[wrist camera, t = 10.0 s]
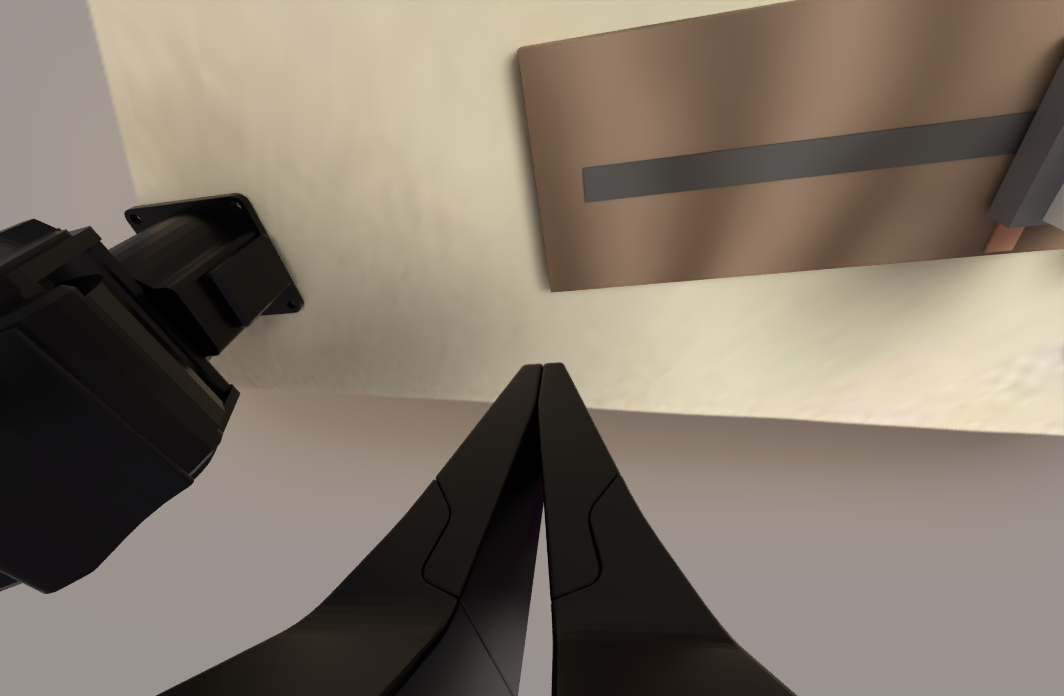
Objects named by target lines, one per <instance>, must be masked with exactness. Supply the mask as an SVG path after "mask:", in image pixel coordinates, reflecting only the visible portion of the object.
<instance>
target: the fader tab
mask: <svg viewBox="0 0 1064 696" xmlns="http://www.w3.org/2000/svg"><path fill="white" fill-rule="evenodd" d="M986 216H987V217H989V218H991V219H993V220H995V221H996V222H998V223H1000V224H1002V225H1004V226H1006V227H1007V228H1016V227H1027V226H1037V225H1048V224H1051V225H1053V226H1055V227H1057V228H1059V229H1061V230H1063V231H1064V58H1063V60H1062V62H1061V64H1060V66H1059V68H1058V70H1057V72H1056V74H1055V76H1054V78H1053V80H1052V82H1051V84H1050V86H1049V88H1048V90H1047V92H1046V94H1045V96H1044V99H1043V101H1042V103H1041V105H1040V107H1039V109H1038V111H1037V113H1036V115H1035V117H1034V119H1033V121H1032V123H1031V125H1030V127H1029V129H1028V131H1027V133H1026V135H1025V137H1024V139H1023V141H1022V143H1021V145H1020V147H1019V149H1018V151H1017V153H1016V156H1015V158H1014V160H1013V162H1012V164H1011V166H1010V168H1009V170H1008V172H1007V174H1006V176H1005V178H1004V180H1003V182H1002V184H1001V186H1000V188H999V190H998V192H997V194H996V196H995V198H994V200H993V202H992V204H991V206H990V208H989V210H988V213H987V215H986Z"/></svg>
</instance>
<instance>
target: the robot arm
mask: <svg viewBox="0 0 1064 696" xmlns="http://www.w3.org/2000/svg"><path fill="white" fill-rule="evenodd" d="M235 202H237V203H239V205H240V206H241V208H239V207H238V206H237V205H236V203H235ZM124 214H125V218H126V220H127V221H128V223H129V224H130V225H131V227H132V228H133V230H134V231H135V232H136V233H137V234H136V235H135V236H133V237H131V238H129V239H127V240H125V241H124V242H122V243H120V244H118V245H116V246H115V247H113V248H111V249H109V250H108V249H107V248H106V247H105V246H104V245H103V244H102V243H101V242H100V240H101V238H100V236H99V235H98V234H97V233H96V232H95V231H94V230H93V229H92V227H91V226H88V227H84V228H81V229H77V230H73V231H70V232H68V231H67V230H66V229H65V230H61V229H60V228H58V229H56V228H54V227H52V226H50V225H47V224H45V223H42V222H41V221H38V220H36V219H31V220H28V221H24V222H21V223H19V224H16V225H14V226H12V227H9V228H7V229H5V230H2V231H0V591H3V590H5V589H8V588H11V587H13V586H16V585H18V584H21V583H24V584H26V585H28V586H30V587H32V588H34V589H36V590H38V591H40V592H42V593H44V594H49V593H53V592H56V591H58V590H60V589H62V588H64V587H66V586H68V585H69V584H71V583H73V582H75V581H77V580H79V579H81V578H83V577H84V576H86V575H88V574H90V573H91V572H93V571H94V570H95V569H96V568H98V567H99V565H100V564H101V563H102V562H103V561H104V560H105V559H106V558H107V557H108V556H109V555H110V554H111V553H112V552H113V551H114V550H115V549H116V548H117V547H118V545H119V544H120V543H121V542H122V541H123V540H124V539H125V538H126V537H127V536H128V535H129V534H130V533H131V532H132V531H133V530H134V529H135V528H136V527H137V526H138V525H139V524H140V523H141V522H142V521H144V520H145V519H146V518H147V517H149V516H150V515H151V514H152V513H153V512H155V511H156V510H157V509H158V508H159V507H161V506H162V505H163V504H164V503H165V502H167V501H168V500H170V499H171V498H173V497H174V496H176V495H177V494H179V493H180V492H182V491H183V490H185V489H186V488H188V487H189V486H190V485H192V483H193V482H194V479H195V478H196V477H197V476H198V475H199V474H200V473H201V472H202V471H203V470H204V469H205V467H206V466H207V465H208V464H209V462H210V461H211V459H212V457H213V455H214V453H215V451H216V449H217V446H218V445H219V444H220V442H221V439H222V436H223V432H224V430H225V428H226V426H227V423H228V421H229V419H230V416H231V414H232V412H233V409H234V407H235V405H236V402H237V400H238V398H239V395H240V392H239V391H238V390H237V389H236V388H235V387H234V386H233V385H232V384H230V385H229V383H228V382H227V381H226V380H225V379H224V378H223V377H222V376H221V375H220V373H219V372H218V371H217V370H216V369H215V368H214V367H213V366H212V365H211V363H210V362H209V360H210V359H211V358H212V357H213V356H217V355H219V354H220V353H221V352H222V351H223V350H224V349H225V348H226V347H227V346H228V345H229V344H230V343H231V342H232V341H233V340H234V339H235V338H236V337H237V336H238V335H239V334H240V333H241V332H242V331H243V330H244V329H245V328H246V327H248V326H250V325H251V324H252V323H253V322H254V321H255V320H256V319H257V318H258V317H259V316H261V315H272V314H284V313H295V312H298V311H299V310H300V309H301V308H302V307H303V305H304V302H303V300H302V298H301V296H300V294H299V292H298V290H297V288H296V287H295V285H294V283H293V281H292V279H291V277H290V275H289V274H288V272H287V270H286V268H285V266H284V264H283V262H282V261H281V259H280V257H279V255H278V253H277V251H276V250H275V248H274V246H273V244H272V242H271V240H270V238H269V237H268V235H267V233H266V231H265V229H264V227H263V225H262V224H261V222H260V220H259V218H258V216H257V214H256V212H255V211H254V209H253V207H252V205H251V203H250V202H249V200H248V199H247V198H246V197H245V196H244V195H241V194H239V193H232V194H224V195H217V196H209V197H202V198H194V199H187V200H179V201H172V202H164V203H157V204H149V205H142V206H135V207H133V208H130V209H128V210H126V211H125V213H124ZM137 216H138V217H139V218H140V219H141V220H140V219H139V218H138V217H137ZM290 301H292V302H293V303H294V304H295V305H294V304H292V303H291V302H290ZM543 503H544V511H545V525H546V539H547V552H548V553H547V554H548V567H549V568H548V569H549V582H550V597H551V602H552V603H551V612H552V633H553V660H552V696H797V695H796V694H795V693H794V692H792V691H791V690H790V689H789V688H788V687H787V686H786V685H784V684H783V683H782V682H781V681H780V680H779V679H777V678H776V677H775V676H774V675H773V674H772V673H771V672H769V671H768V670H767V669H766V668H765V667H764V666H763V665H761V664H760V663H759V662H758V661H757V660H756V659H755V658H753V657H752V656H751V655H750V654H749V653H748V652H747V651H745V650H744V649H743V648H742V647H741V646H740V645H739V644H738V643H737V642H736V641H735V640H734V639H733V638H732V637H731V636H730V635H729V634H728V632H727V631H726V630H725V629H724V628H723V627H722V625H721V624H720V623H719V622H718V620H717V619H716V618H715V617H714V615H713V614H712V613H711V611H710V610H709V609H708V608H707V606H706V605H705V603H704V602H703V600H702V599H701V598H700V596H699V595H698V593H697V592H696V591H695V589H694V588H693V586H692V585H691V583H690V582H689V581H688V579H687V578H686V577H685V575H684V574H683V572H682V571H681V569H680V568H679V567H678V565H677V564H676V562H675V561H674V559H673V558H672V557H671V555H670V554H669V552H668V551H667V550H666V548H665V547H664V545H663V544H662V543H661V541H660V540H659V538H658V537H657V535H656V534H655V532H654V531H653V529H652V528H651V526H650V525H649V523H648V522H647V520H646V518H645V517H644V516H643V514H642V512H641V510H640V508H639V507H638V505H637V503H636V502H635V500H634V498H633V496H632V494H631V493H630V491H629V489H628V487H627V485H626V483H625V481H624V479H623V477H622V476H620V472H619V470H618V468H617V466H616V464H615V462H614V460H613V458H612V456H611V454H610V453H609V451H608V449H607V447H606V445H605V443H604V441H603V439H602V437H601V435H600V433H599V431H598V429H597V427H596V426H595V423H594V422H593V420H592V418H591V416H590V414H589V413H588V410H587V408H586V406H585V404H584V402H583V400H582V398H581V396H580V394H579V393H578V391H577V389H576V387H575V385H574V383H573V381H572V379H571V377H570V375H569V373H568V371H567V369H566V367H565V366H564V364H563V363H546V364H544V366H543V365H542V364H527V365H524V366H522V368H521V369H520V370H519V371H518V373H517V374H516V375H515V377H514V378H513V379H512V380H511V382H510V383H509V384H508V385H507V387H506V388H505V389H504V391H503V392H502V393H501V394H500V396H499V397H498V398H497V399H496V401H495V402H494V403H493V405H492V406H491V407H490V408H489V410H488V411H487V412H486V414H485V415H484V416H483V418H482V419H481V420H480V421H479V422H478V424H477V425H476V426H475V428H474V429H473V430H472V431H471V433H470V434H469V435H468V437H467V438H466V439H465V441H464V442H463V443H462V444H461V445H460V447H459V448H458V449H457V451H456V452H455V453H454V454H453V456H452V457H451V458H450V459H449V461H448V462H447V463H446V465H445V466H444V467H443V468H442V470H441V471H440V472H439V474H438V475H437V476H436V480H433V481H432V482H431V484H430V485H429V486H428V487H427V489H426V490H425V491H424V493H423V494H422V495H421V496H420V497H419V499H418V500H417V501H416V502H415V503H414V505H413V506H412V507H411V508H410V509H409V511H408V512H407V513H406V514H405V516H404V517H403V518H402V519H401V520H400V521H399V522H398V523H397V524H396V525H395V526H394V528H393V529H392V530H391V531H390V532H389V533H388V534H387V535H386V536H385V537H384V539H383V540H382V541H381V542H380V543H379V544H378V545H377V546H376V547H375V548H374V549H373V550H372V551H371V552H370V553H369V554H368V555H367V556H366V558H364V560H363V561H362V562H361V563H360V564H359V565H358V566H357V567H356V568H355V569H354V570H353V571H352V572H351V573H350V574H349V575H348V576H347V577H346V579H344V580H343V582H342V583H341V584H340V585H339V586H338V587H337V588H336V589H335V590H334V591H333V592H332V593H331V594H330V595H329V596H328V597H327V598H326V599H325V600H324V601H323V602H322V603H321V604H320V605H319V606H318V607H316V608H315V609H314V610H313V611H312V612H311V613H310V614H308V615H307V616H306V617H304V618H303V619H302V620H300V621H299V622H298V623H296V624H295V625H293V626H291V627H290V628H288V629H287V630H285V631H283V632H281V633H279V634H277V635H275V636H273V637H271V638H269V639H267V640H265V641H264V642H261V643H259V644H257V645H255V646H254V647H251V648H249V649H247V650H245V651H244V652H242V653H240V654H238V655H236V656H234V657H232V658H230V659H228V660H226V661H224V662H222V663H220V664H218V665H216V666H214V667H212V668H210V669H208V670H206V671H204V672H202V673H200V674H198V675H196V676H194V677H192V678H190V679H188V680H186V681H184V682H182V683H180V684H178V685H176V686H174V687H172V688H170V689H168V690H166V691H164V692H162V693H160V694H159V695H156V696H518V690H519V683H520V675H521V668H522V660H523V653H524V646H525V638H526V631H527V622H528V616H529V608H530V601H531V593H532V586H533V578H534V571H535V563H536V555H537V548H538V541H539V533H540V526H541V518H542V511H543Z"/></svg>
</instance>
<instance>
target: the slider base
mask: <svg viewBox="0 0 1064 696" xmlns="http://www.w3.org/2000/svg"><path fill="white" fill-rule="evenodd" d="M517 51H518V58H519V65H520V73H521V80H522V87H523V94H524V101H525V109H526V116H527V123H528V130H529V137H530V145H531V152H532V159H533V166H534V173H535V181H536V188H537V195H538V202H539V209H540V217H541V224H542V231H543V238H544V245H545V253H546V260H547V267H548V274H549V281H550V289H551V292H562V291H574V290H586V289H597V288H609V287H621V286H632V285H644V284H656V283H668V282H679V281H691V280H703V279H714V278H726V277H738V276H750V275H761V274H773V273H785V272H796V271H808V270H820V269H832V268H843V267H855V266H867V265H878V264H890V263H902V262H914V261H925V260H937V259H949V258H960V257H972V256H984V255H996V254H1007V253H1019V252H1031V251H1042V250H1054V249H1064V231H1063V230H1061V229H1059V228H1057V227H1055V226H1053V225H1051V224H1048V225H1037V226H1027V227H1016V228H1007V227H1006V226H1004V225H1002V224H1000V223H998V222H996V221H995V220H993V219H991V218H989V217H987V216H986V215H987V213H988V210H989V208H990V206H991V204H992V202H993V200H994V198H995V196H996V194H997V192H998V190H999V188H1000V186H1001V184H1002V182H1003V180H1004V178H1005V176H1006V174H1007V172H1008V170H1009V168H1010V166H1011V164H1012V162H1013V160H1014V158H1015V156H1016V153H1017V151H1018V149H1019V147H1020V145H1021V143H1022V141H1023V139H1024V137H1025V135H1026V133H1027V131H1028V129H1029V127H1030V125H1031V123H1032V121H1033V119H1034V117H1035V115H1036V113H1037V111H1038V109H1039V107H1040V105H1041V103H1042V101H1043V99H1044V96H1045V94H1046V92H1047V90H1048V88H1049V86H1050V84H1051V82H1052V80H1053V78H1054V76H1055V74H1056V72H1057V70H1058V68H1059V66H1060V64H1061V62H1062V60H1063V58H1064V0H795V1H789V2H783V3H777V4H771V5H765V6H760V7H754V8H748V9H742V10H736V11H730V12H724V13H718V14H713V15H707V16H701V17H695V18H689V19H683V20H677V21H671V22H665V23H660V24H654V25H648V26H642V27H636V28H630V29H624V30H618V31H612V32H607V33H601V34H595V35H589V36H583V37H577V38H571V39H565V40H559V41H554V42H548V43H542V44H536V45H530V46H524V47H520V48H519V49H518V50H517Z"/></svg>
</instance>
